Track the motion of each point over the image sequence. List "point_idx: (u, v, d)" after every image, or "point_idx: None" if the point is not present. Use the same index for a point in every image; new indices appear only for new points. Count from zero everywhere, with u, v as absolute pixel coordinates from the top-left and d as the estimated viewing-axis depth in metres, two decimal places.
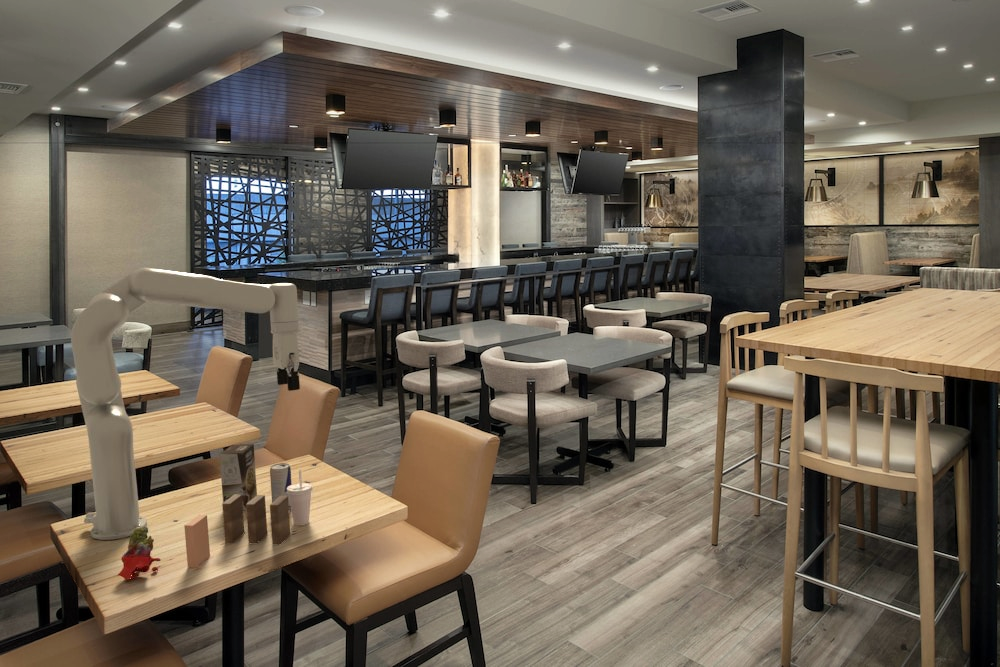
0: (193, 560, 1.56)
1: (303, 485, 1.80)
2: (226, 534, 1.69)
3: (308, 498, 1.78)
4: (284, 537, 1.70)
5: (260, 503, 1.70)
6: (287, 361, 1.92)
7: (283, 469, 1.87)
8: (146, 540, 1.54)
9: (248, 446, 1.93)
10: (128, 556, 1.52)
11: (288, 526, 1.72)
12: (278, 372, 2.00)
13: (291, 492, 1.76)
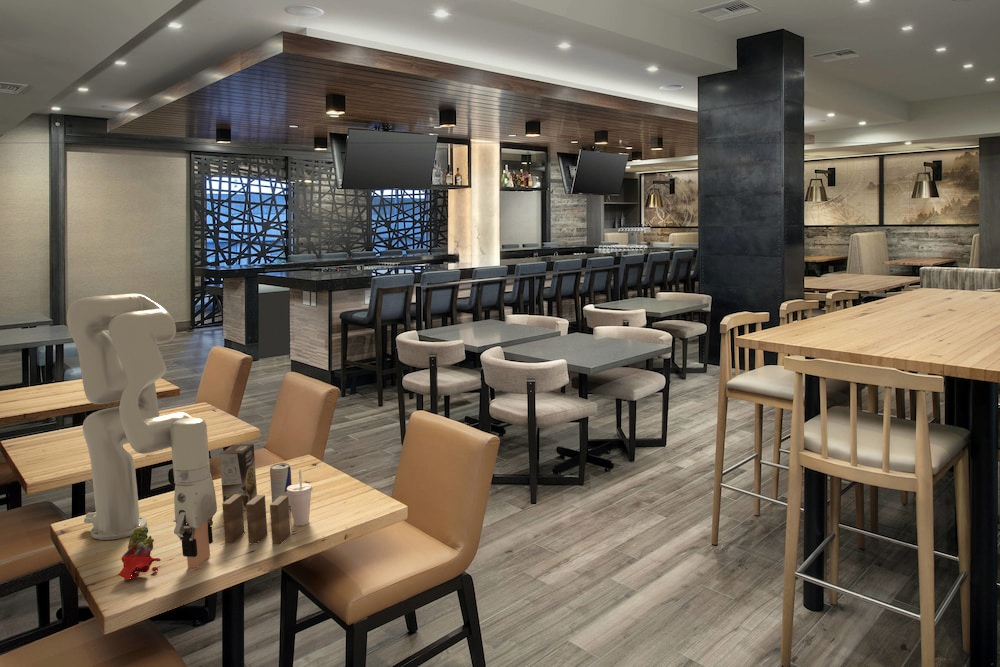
0: (193, 560, 1.56)
1: (303, 485, 1.80)
2: (226, 534, 1.69)
3: (308, 498, 1.78)
4: (284, 537, 1.70)
5: (260, 503, 1.70)
6: None
7: (283, 469, 1.87)
8: (146, 540, 1.54)
9: (248, 446, 1.93)
10: (128, 556, 1.52)
11: (288, 526, 1.72)
12: None
13: (291, 492, 1.76)
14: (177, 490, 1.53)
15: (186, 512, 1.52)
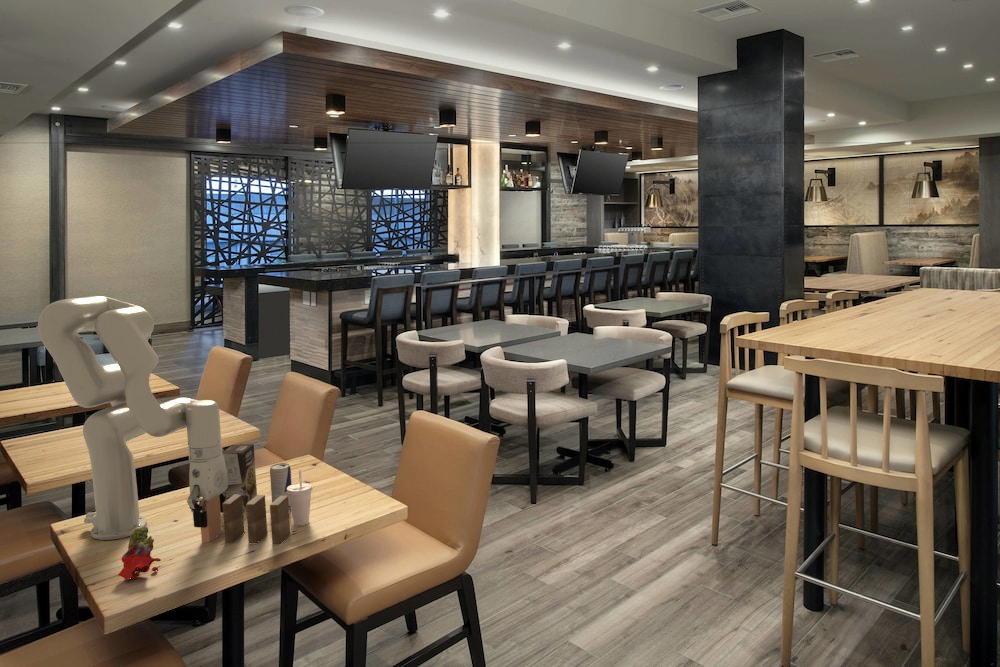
0: (206, 535, 1.69)
1: (303, 485, 1.80)
2: (226, 534, 1.69)
3: (308, 498, 1.78)
4: (284, 537, 1.70)
5: (260, 503, 1.70)
6: None
7: (283, 469, 1.87)
8: (146, 540, 1.54)
9: (248, 446, 1.93)
10: (128, 556, 1.52)
11: (288, 526, 1.72)
12: None
13: (291, 492, 1.76)
14: (192, 466, 1.66)
15: (200, 486, 1.66)
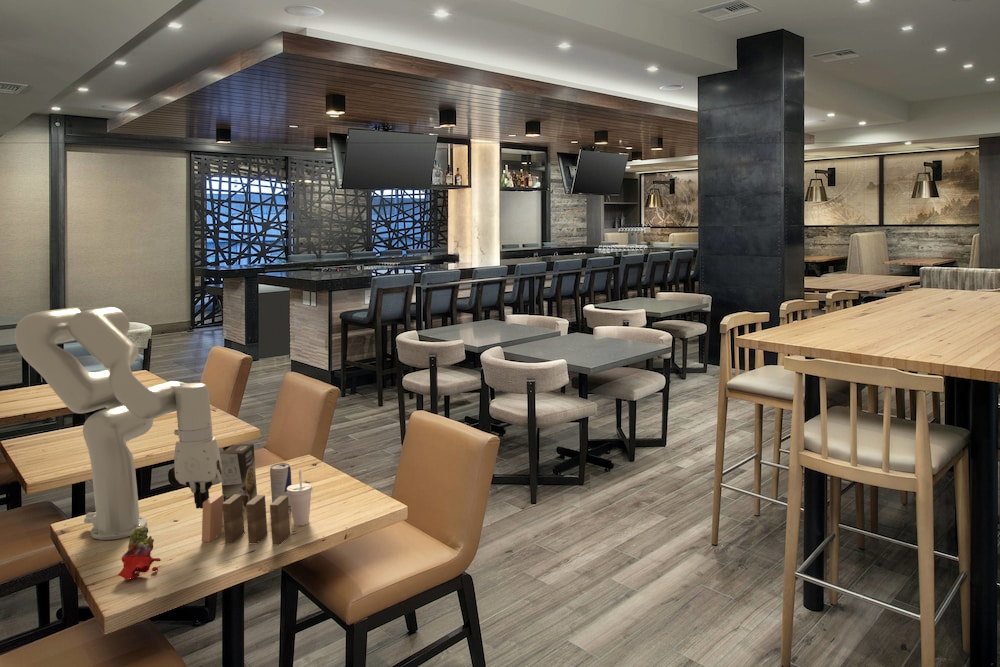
0: (207, 535, 1.69)
1: (303, 485, 1.80)
2: (226, 534, 1.69)
3: (308, 498, 1.78)
4: (284, 537, 1.70)
5: (260, 503, 1.70)
6: (215, 471, 1.69)
7: (283, 469, 1.87)
8: (146, 540, 1.54)
9: (248, 446, 1.93)
10: (128, 556, 1.52)
11: (288, 526, 1.72)
12: (197, 494, 1.70)
13: (291, 492, 1.76)
14: None
15: None
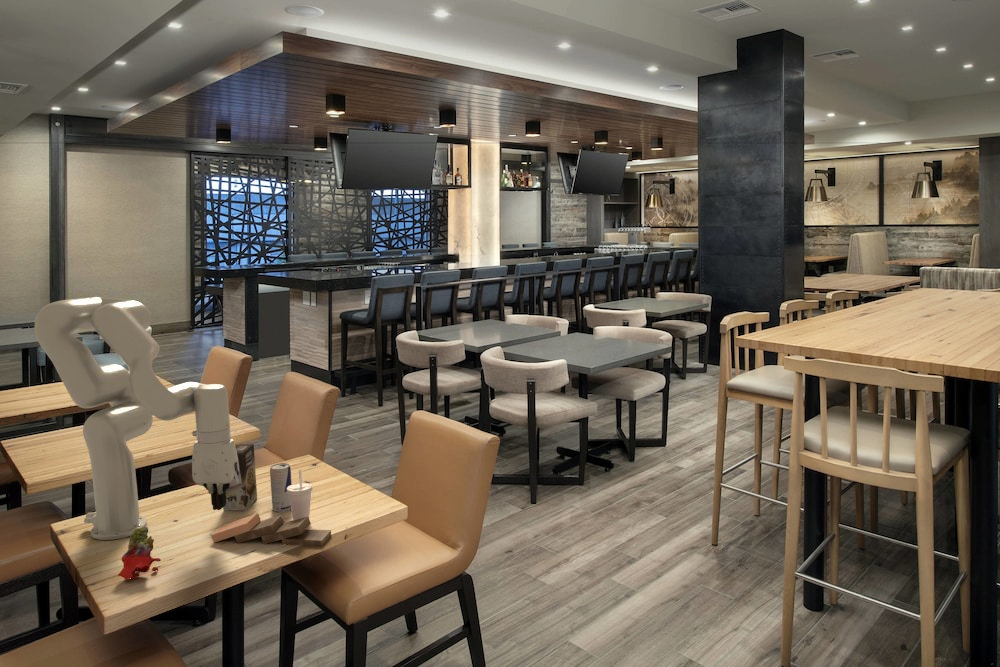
0: (219, 538, 1.69)
1: (303, 485, 1.80)
2: (243, 535, 1.68)
3: (308, 498, 1.78)
4: None
5: None
6: (233, 473, 1.68)
7: (283, 469, 1.87)
8: (146, 540, 1.54)
9: (248, 446, 1.93)
10: (128, 556, 1.52)
11: None
12: (214, 495, 1.70)
13: (291, 492, 1.76)
14: None
15: None
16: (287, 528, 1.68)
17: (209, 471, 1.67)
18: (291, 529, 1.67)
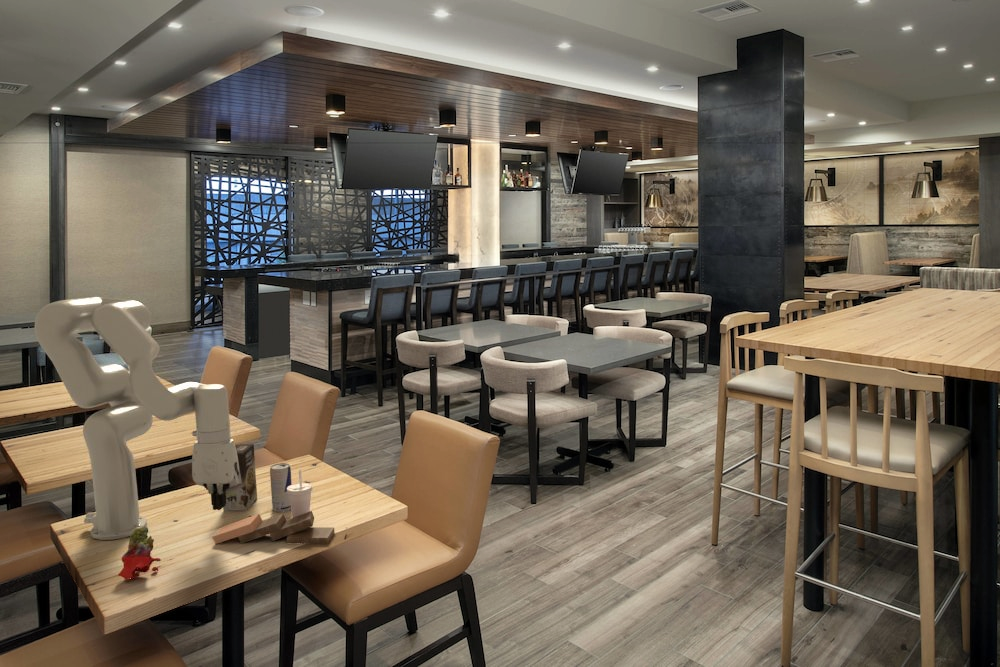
0: (221, 539, 1.68)
1: (303, 485, 1.80)
2: (247, 535, 1.68)
3: (308, 498, 1.78)
4: None
5: None
6: (233, 473, 1.68)
7: (283, 469, 1.87)
8: (146, 540, 1.54)
9: (248, 446, 1.93)
10: (128, 556, 1.52)
11: None
12: (214, 495, 1.70)
13: (291, 492, 1.76)
14: None
15: None
16: (297, 522, 1.70)
17: (209, 471, 1.67)
18: (302, 522, 1.70)
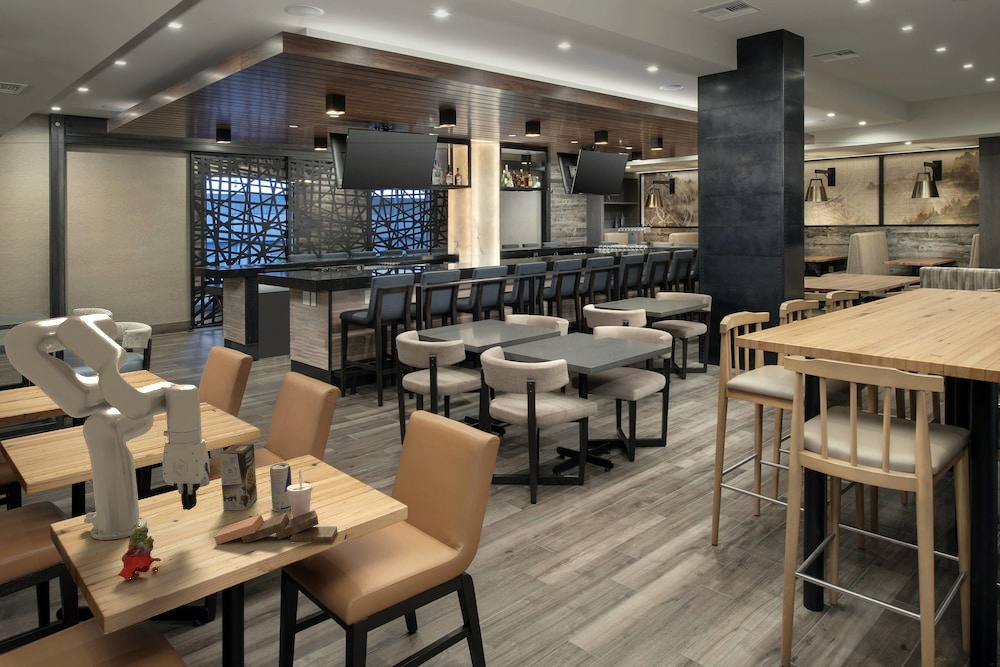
0: (222, 540, 1.68)
1: (303, 485, 1.80)
2: (251, 535, 1.68)
3: (308, 498, 1.78)
4: None
5: None
6: (203, 473, 1.69)
7: (283, 469, 1.87)
8: (146, 540, 1.54)
9: (248, 446, 1.93)
10: (128, 556, 1.52)
11: None
12: (185, 495, 1.71)
13: (291, 492, 1.76)
14: None
15: None
16: (302, 520, 1.72)
17: (179, 471, 1.68)
18: (308, 520, 1.71)
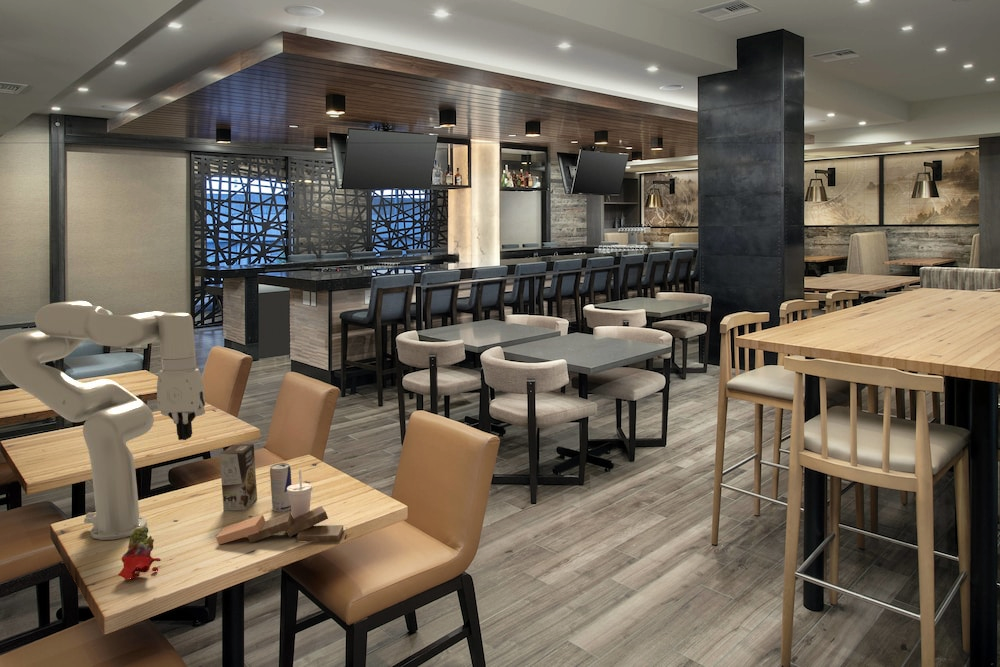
0: (224, 540, 1.68)
1: (303, 485, 1.80)
2: (257, 534, 1.69)
3: (308, 498, 1.78)
4: None
5: None
6: (198, 402, 1.67)
7: (283, 469, 1.87)
8: (146, 540, 1.54)
9: (248, 446, 1.93)
10: (128, 556, 1.52)
11: None
12: (180, 425, 1.68)
13: (291, 492, 1.76)
14: None
15: None
16: (312, 516, 1.73)
17: (174, 400, 1.66)
18: (318, 515, 1.73)
